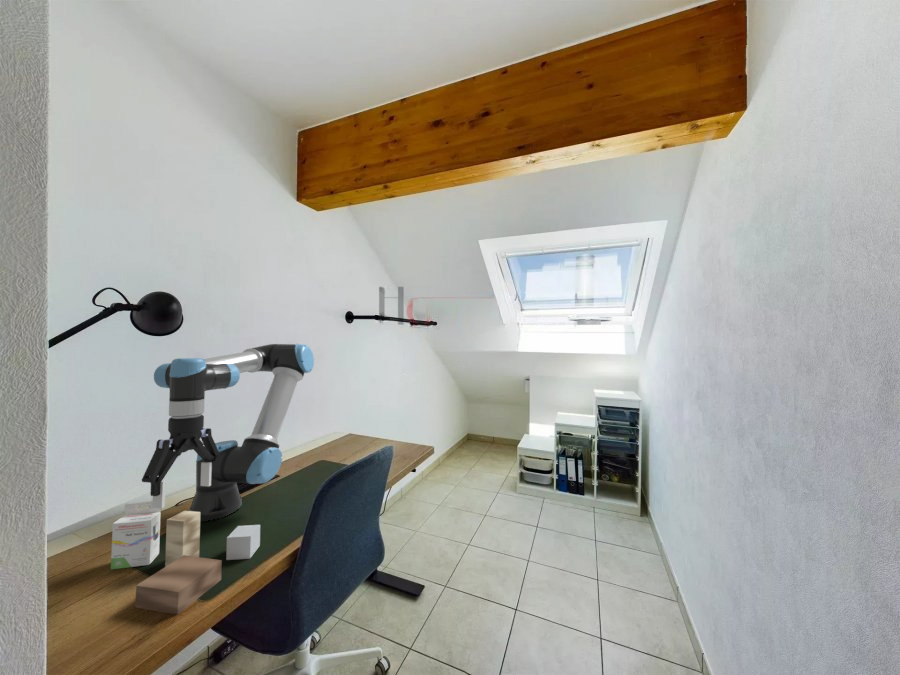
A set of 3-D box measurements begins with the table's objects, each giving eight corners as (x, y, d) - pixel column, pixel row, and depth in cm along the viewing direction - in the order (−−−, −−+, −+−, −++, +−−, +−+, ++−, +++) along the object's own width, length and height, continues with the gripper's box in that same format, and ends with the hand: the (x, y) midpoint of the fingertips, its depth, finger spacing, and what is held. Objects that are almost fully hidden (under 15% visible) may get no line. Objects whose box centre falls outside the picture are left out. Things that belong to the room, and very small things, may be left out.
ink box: (108, 570, 86) (111, 511, 86) (122, 559, 91) (124, 503, 91) (149, 565, 88) (151, 507, 89) (160, 553, 93) (162, 499, 93)
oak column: (182, 555, 92) (184, 510, 93) (199, 556, 92) (200, 511, 92) (165, 566, 88) (166, 519, 88) (182, 568, 87) (183, 521, 87)
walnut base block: (183, 575, 85) (183, 555, 85) (221, 581, 83) (221, 560, 83) (135, 608, 74) (136, 585, 74) (177, 616, 72) (178, 592, 72)
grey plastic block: (237, 547, 96) (238, 525, 97) (259, 545, 97) (260, 524, 97) (226, 560, 90) (226, 537, 91) (250, 558, 91) (250, 536, 91)
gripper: (212, 407, 104) (210, 477, 103) (123, 425, 79) (120, 517, 78) (234, 408, 103) (232, 478, 102) (151, 426, 78) (148, 520, 77)
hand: (183, 496), depth 90 cm, fingers open, 13 cm apart
